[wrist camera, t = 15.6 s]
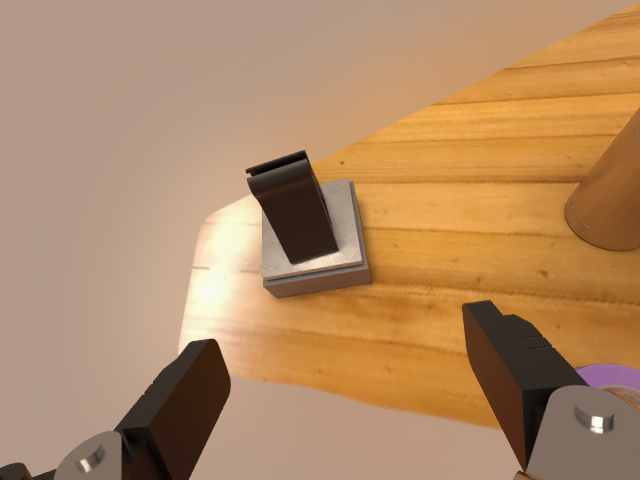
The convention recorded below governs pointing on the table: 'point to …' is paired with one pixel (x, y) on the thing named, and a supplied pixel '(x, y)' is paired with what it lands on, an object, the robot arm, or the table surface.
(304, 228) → the phone stand
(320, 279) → the base
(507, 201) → the table surface
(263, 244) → the pan
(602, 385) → the masking tape
